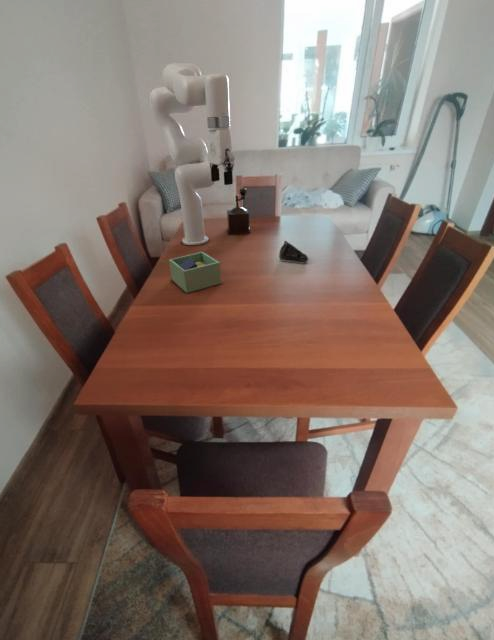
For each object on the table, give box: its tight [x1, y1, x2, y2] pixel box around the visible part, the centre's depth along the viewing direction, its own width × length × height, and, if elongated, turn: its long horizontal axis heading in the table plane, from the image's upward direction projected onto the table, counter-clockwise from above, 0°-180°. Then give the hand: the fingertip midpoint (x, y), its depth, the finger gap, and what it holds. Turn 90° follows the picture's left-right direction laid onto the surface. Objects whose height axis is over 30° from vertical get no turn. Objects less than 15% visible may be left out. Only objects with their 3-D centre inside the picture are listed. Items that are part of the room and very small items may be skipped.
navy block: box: [179, 257, 197, 270], centre depth 114 cm, size 5×5×5 cm
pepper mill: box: [226, 187, 251, 236], centre depth 164 cm, size 16×11×18 cm
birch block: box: [195, 261, 205, 267], centre depth 121 cm, size 5×5×5 cm
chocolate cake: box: [278, 240, 309, 265], centre depth 133 cm, size 10×7×12 cm
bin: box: [168, 251, 222, 294], centre depth 118 cm, size 14×14×8 cm
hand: (221, 182), depth 119 cm, fingers open, 9 cm apart
